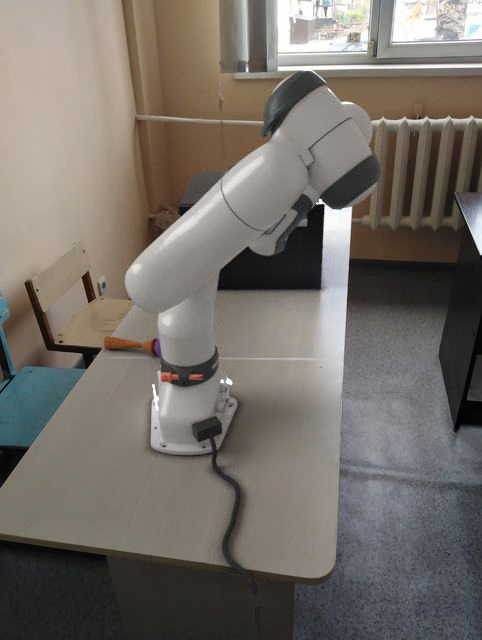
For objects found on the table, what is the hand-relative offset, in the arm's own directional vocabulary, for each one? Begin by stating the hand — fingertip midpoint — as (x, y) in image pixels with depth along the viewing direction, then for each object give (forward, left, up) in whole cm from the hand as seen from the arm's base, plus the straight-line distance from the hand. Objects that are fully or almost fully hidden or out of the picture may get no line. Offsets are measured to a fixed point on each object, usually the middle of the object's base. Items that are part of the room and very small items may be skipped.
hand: (251, 232), depth 147 cm
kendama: (-30, +26, -20) cm, 44 cm away
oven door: (+3, 0, -20) cm, 20 cm away
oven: (+22, 0, -20) cm, 30 cm away
